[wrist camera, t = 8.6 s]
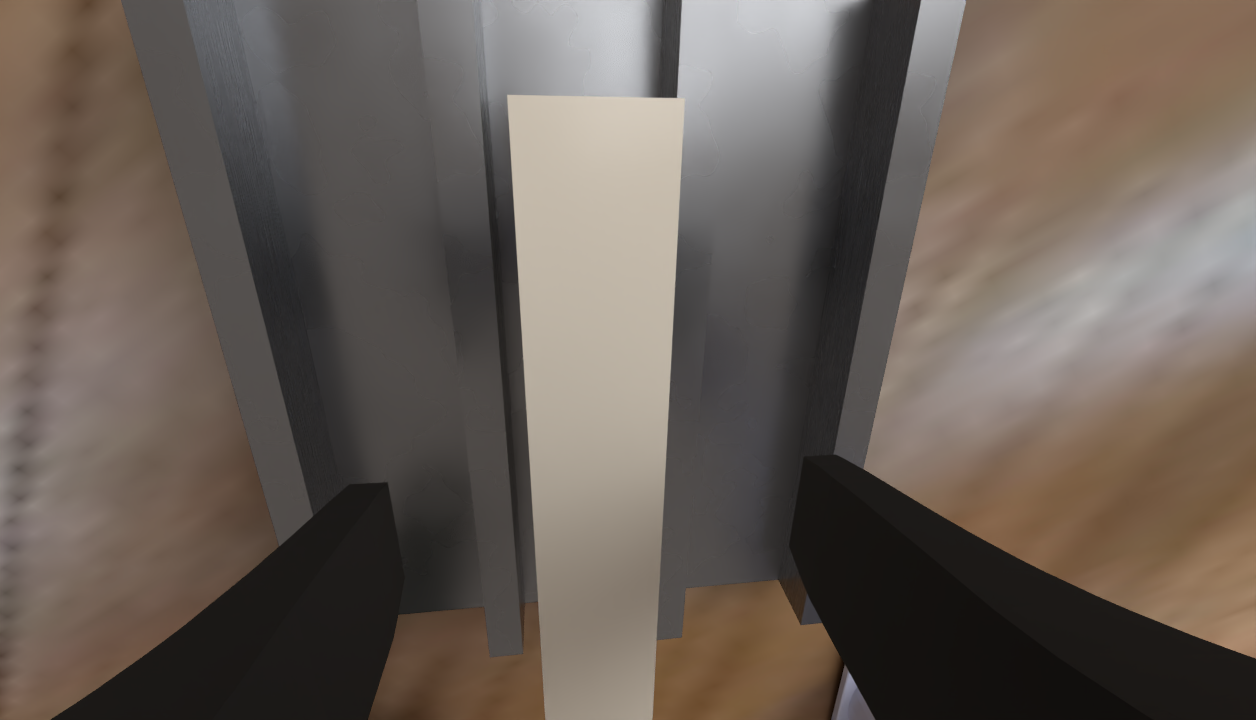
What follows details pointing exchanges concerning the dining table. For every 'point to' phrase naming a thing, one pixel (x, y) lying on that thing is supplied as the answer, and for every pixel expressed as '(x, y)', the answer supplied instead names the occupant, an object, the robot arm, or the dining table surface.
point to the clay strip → (597, 382)
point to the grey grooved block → (487, 255)
